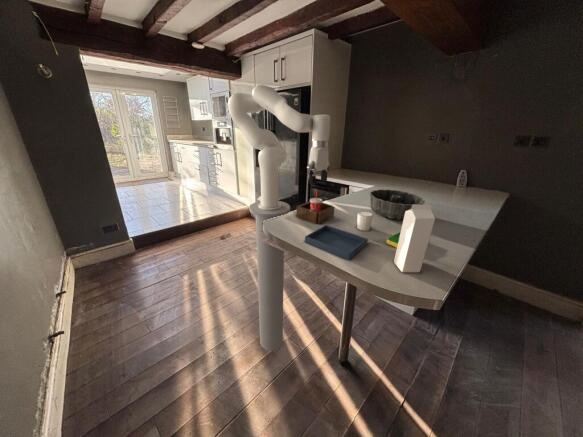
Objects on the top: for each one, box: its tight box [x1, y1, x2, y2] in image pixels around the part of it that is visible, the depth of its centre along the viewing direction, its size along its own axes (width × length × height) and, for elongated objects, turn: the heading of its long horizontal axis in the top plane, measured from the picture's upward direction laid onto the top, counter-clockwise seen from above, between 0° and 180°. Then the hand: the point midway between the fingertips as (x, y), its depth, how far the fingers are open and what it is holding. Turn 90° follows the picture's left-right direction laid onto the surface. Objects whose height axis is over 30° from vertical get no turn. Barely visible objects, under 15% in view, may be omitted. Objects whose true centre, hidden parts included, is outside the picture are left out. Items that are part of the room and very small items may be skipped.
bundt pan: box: [369, 189, 426, 221], centre depth 121 cm, size 26×26×10 cm
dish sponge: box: [386, 231, 401, 249], centre depth 93 cm, size 7×14×2 cm, turn 128°
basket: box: [295, 200, 336, 225], centre depth 116 cm, size 14×14×6 cm
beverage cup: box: [309, 189, 323, 212], centre depth 114 cm, size 6×6×14 cm
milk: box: [393, 204, 436, 273], centre depth 73 cm, size 6×6×22 cm
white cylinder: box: [356, 210, 375, 232], centre depth 104 cm, size 7×7×7 cm
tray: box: [304, 224, 369, 261], centre depth 91 cm, size 19×15×2 cm
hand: (318, 182), depth 110 cm, fingers open, 9 cm apart
